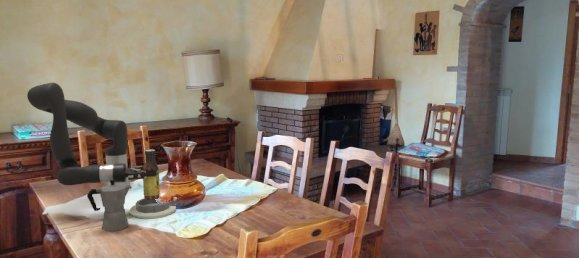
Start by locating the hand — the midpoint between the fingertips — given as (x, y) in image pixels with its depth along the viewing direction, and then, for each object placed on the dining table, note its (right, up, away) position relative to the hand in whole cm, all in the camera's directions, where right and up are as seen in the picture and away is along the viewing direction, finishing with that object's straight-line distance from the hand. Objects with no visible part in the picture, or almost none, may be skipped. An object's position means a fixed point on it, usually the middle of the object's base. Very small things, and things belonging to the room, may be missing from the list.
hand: (157, 171), depth 184 cm
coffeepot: (-12, -20, -15) cm, 27 cm away
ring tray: (-2, -16, +2) cm, 17 cm away
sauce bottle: (-2, -11, +1) cm, 11 cm away
